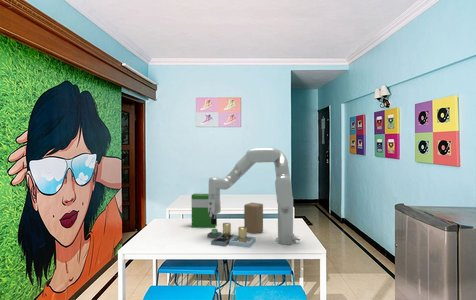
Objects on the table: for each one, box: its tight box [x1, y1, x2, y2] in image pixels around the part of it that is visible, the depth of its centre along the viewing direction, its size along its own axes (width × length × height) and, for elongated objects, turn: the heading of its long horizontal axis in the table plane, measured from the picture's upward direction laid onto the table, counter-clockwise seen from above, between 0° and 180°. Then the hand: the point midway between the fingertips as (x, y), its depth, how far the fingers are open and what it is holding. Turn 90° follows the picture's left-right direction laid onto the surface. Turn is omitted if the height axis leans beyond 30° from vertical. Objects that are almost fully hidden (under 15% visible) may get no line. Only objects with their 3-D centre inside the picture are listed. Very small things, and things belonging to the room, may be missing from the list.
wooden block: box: [243, 202, 264, 235], centre depth 215 cm, size 10×10×20 cm
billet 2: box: [237, 226, 248, 243], centre depth 189 cm, size 5×5×10 cm
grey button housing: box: [206, 231, 223, 239], centre depth 203 cm, size 7×7×3 cm
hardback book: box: [191, 193, 218, 229], centre depth 232 cm, size 18×7×24 cm, turn 85°
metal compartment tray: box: [210, 233, 237, 247], centre depth 193 cm, size 18×10×3 cm, turn 159°
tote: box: [228, 234, 257, 248], centre depth 189 cm, size 13×13×4 cm
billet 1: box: [222, 222, 232, 238], centre depth 196 cm, size 5×5×10 cm
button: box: [211, 228, 219, 235], centre depth 203 cm, size 4×4×3 cm
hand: (213, 224), depth 203 cm, fingers closed
